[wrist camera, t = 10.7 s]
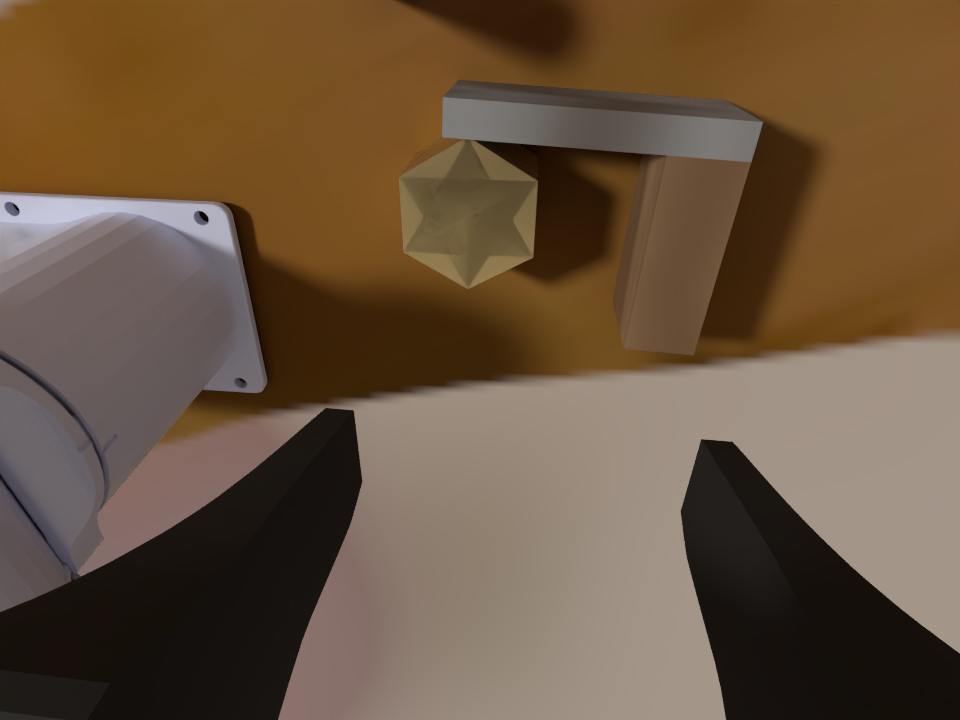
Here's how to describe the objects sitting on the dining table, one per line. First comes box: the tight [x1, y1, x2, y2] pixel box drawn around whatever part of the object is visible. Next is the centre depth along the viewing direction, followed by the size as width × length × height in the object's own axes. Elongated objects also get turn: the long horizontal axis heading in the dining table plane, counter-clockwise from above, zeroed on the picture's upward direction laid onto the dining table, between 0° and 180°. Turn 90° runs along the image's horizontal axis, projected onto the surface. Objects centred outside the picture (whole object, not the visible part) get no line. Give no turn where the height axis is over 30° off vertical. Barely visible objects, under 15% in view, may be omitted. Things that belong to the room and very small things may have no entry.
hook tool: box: [442, 80, 763, 355], centre depth 18 cm, size 8×7×4 cm
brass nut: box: [399, 138, 538, 289], centre depth 19 cm, size 5×4×3 cm
